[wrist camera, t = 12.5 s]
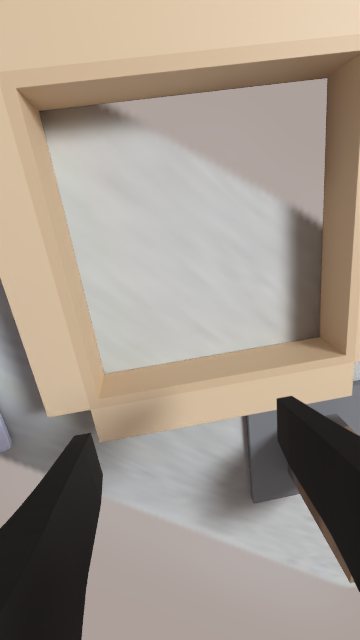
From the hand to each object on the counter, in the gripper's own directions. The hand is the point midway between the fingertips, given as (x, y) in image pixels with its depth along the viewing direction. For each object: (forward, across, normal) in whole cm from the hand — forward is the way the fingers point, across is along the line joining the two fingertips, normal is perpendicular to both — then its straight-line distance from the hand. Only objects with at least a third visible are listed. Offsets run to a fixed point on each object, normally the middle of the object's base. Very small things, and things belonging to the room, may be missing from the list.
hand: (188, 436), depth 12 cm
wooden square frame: (+9, -3, -6) cm, 12 cm away
